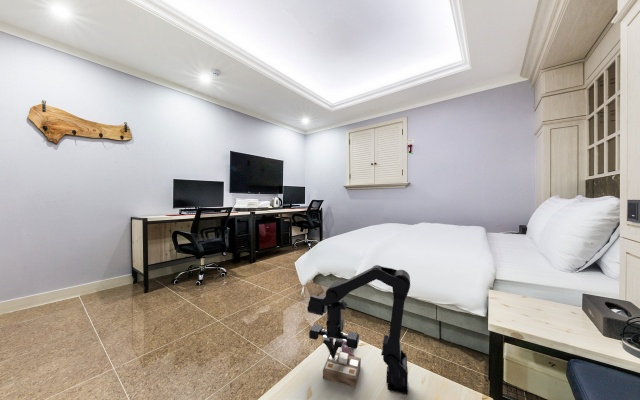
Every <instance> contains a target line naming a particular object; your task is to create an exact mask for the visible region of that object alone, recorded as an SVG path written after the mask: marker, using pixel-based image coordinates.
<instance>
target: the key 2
mask: <svg viewBox="0 0 640 400" xmlns="http://www.w3.org/2000/svg"><path fill="white" fill-rule="evenodd" d="M349 366H353V367H356V368H358V366H359V361H357V360H353V359H351V360H350V364H349Z"/></svg>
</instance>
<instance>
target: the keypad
mask: <svg viewBox="0 0 640 400" xmlns="http://www.w3.org/2000/svg"><path fill="white" fill-rule="evenodd" d="M340 353H341V352H338V351H337V352H336V355H337V356H338V360H337V362H333V361H329V357H330V353H329V354H328V357H327V359H326V361H325V364H324V366H323V368H322V379H325V380H328V381H331V382H334V383H338V384H341V385H345V386H348V387H352V388H355V389H357V385H358V381H359V380H358V379H359V375H360V369H361V366H362V365H361V361H362V358H361V357H357V356H355V355H354V356H355V357H354V356H349V355H348V363H347V365H345V364H341V363H339V355H340ZM351 359H353V360H357V361H359V366H358V368H356V367H353V366H349V364H350V360H351Z"/></svg>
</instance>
